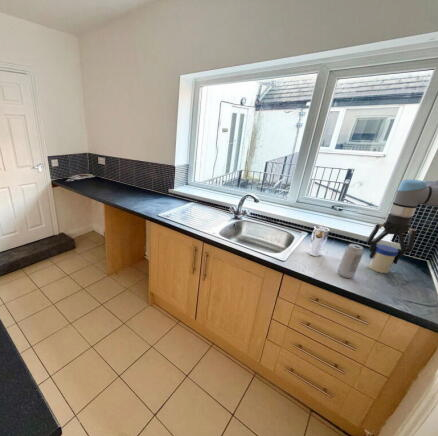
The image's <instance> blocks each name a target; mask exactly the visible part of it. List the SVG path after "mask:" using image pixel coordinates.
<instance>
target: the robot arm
mask: <svg viewBox="0 0 438 436" xmlns="http://www.w3.org/2000/svg"><path fill="white" fill-rule="evenodd" d="M418 205H426V206H434V207H438V180H434V181H433V180H426V181H425V180H420V179H412V178H411V179H409V178H408V179H407V178H406V179H403V180H402V181H401V182H400V184H399V187H398V188H397V191H396V193H395V196H394V198H393V201H392V204H391V207H390V209H389V213H388V215H387V216H386V219H385V221H384V223H378V222H375V223H374V228H373V229H372V231H371V233H370V234H369V235H368V237H367V239H366V242H367V244H369V247H368V250H369V251H370V253H369V255H368V256H369V259H372V258H373V255H374V252H375V250H376V247H377V246H376V245H378V243H380V242H381V240H383V239H384V238H385V237H386V236H388V235H395V236H397V238H398V243H399V248H397V250H398V251H399V253H398V255H397V256H395V259H394V261H393V264H395V265H397V264H398V261H399V260H400V258H401V259H402V258H403V257H404V255H405V253H406V252H412V251H413V246H414V241H415V236H416V235H417V233H418V231H417V230H416V229H415V228H410V225H411V222H412V220H413V217H414V215H415V212H416V210H417V208H418ZM382 228H383V231H382V232H381V233H380V234H379V235H377V234H378V232H379V230H380V229H382ZM407 232H408V238H407V244H405V240H404V234H405V233H407ZM376 235H377V236H376ZM375 236H376V237H375Z"/></svg>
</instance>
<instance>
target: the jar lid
mask: <svg viewBox="0 0 438 436" xmlns="http://www.w3.org/2000/svg"><path fill="white" fill-rule="evenodd" d="M376 246H377V247H376V250H375V251H376V252H378V253H380V254H383V255H387V256H397V255H398V253H399V251H398V248H396V247H393V246H391V245H385V244H376Z"/></svg>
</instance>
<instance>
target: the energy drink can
mask: <svg viewBox="0 0 438 436" xmlns="http://www.w3.org/2000/svg"><path fill="white" fill-rule="evenodd" d="M364 252H365V251H364V247H363V246H362V245H360V244H356V243H349V244H348V246H346V247H345V250H344V253H343V256H342V258H341V261H340V263H339V266H338V269H337V273H338V275H339V276H341V277H343V278H346V279H352V278H353V277H355V274H356V272H357V269H358V268H359V265H360V262H361V260H362V257H363V255H364Z"/></svg>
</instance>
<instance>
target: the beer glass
mask: <svg viewBox="0 0 438 436" xmlns="http://www.w3.org/2000/svg"><path fill="white" fill-rule="evenodd" d="M330 230H331V229H329V228H328V227H326V226H324V225H323V226H321V225H315V226H314V228H313V230H312V233H311V235H310V245H309V248H308V250H307V253H308V254H309V255H310V256H313V257H321V256H322V250H323V248H324V246H325V244H326V243H327V240H328V238H329V235H330Z"/></svg>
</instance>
